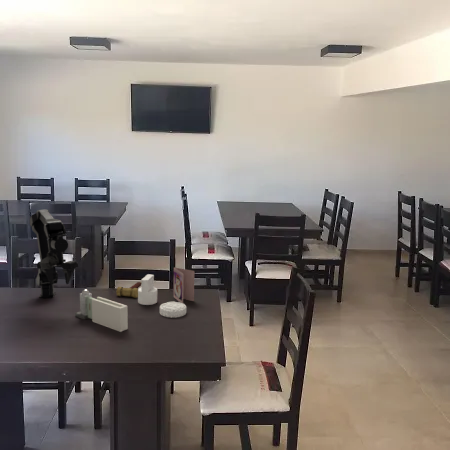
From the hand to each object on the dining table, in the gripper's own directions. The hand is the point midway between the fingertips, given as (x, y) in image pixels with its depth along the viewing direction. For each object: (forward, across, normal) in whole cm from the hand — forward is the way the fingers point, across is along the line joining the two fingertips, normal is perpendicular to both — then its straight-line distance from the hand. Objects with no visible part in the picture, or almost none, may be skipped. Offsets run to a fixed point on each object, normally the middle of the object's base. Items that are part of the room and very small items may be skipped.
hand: (59, 283), depth 224 cm
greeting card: (+16, +42, +36) cm, 58 cm away
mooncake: (+17, +45, +20) cm, 52 cm away
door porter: (+13, +14, -2) cm, 19 cm away
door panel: (+14, +22, -4) cm, 27 cm away
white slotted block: (+15, +29, -5) cm, 33 cm away
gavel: (+13, +14, +36) cm, 41 cm away
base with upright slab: (+14, +28, +26) cm, 41 cm away
